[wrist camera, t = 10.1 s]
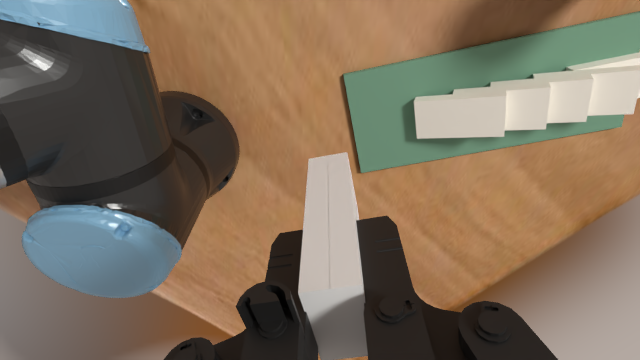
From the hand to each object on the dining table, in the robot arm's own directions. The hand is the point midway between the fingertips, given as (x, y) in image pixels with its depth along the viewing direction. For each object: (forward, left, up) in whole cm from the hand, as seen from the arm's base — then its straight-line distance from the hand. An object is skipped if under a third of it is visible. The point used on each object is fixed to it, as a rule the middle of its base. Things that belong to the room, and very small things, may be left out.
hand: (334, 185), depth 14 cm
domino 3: (+18, -12, -31) cm, 38 cm away
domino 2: (+14, -12, -31) cm, 36 cm away
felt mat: (+18, -12, -32) cm, 39 cm away
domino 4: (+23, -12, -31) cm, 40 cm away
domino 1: (+9, -12, -31) cm, 34 cm away
